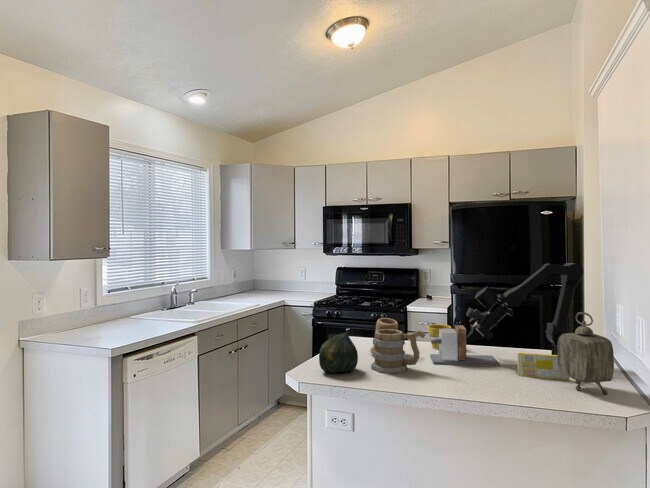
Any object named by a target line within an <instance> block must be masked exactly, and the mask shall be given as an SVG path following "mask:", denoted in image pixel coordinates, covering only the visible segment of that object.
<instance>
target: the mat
mask: <svg viewBox="0 0 650 488" xmlns="http://www.w3.org/2000/svg"><path fill="white" fill-rule="evenodd" d="M429 355H430V356H429V357H430V360H431V361H432V364H433V365H447V366H449V365H450V366H451V365H453V366H454V365H455V366H484V367H486V366H488V367H500V365H501V364H500V362H499V361H498V360H497V359H496V357H495V356H493V355H491V354H490V355H482V354H466V360H458V361H442V360H441V358H440V356H439V353H430V354H429Z"/></svg>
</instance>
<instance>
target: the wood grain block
mask: <svg viewBox="0 0 650 488" xmlns="http://www.w3.org/2000/svg"><path fill="white" fill-rule="evenodd" d="M454 330H455V331H456V332H457V343H458V360H466V355H467V344H466V338H467V328H466V327H465V326H464V325H461V324H459V325H458V324H455V325H454ZM430 344H431V345H432V344H441V338H433V337H431V339H430Z"/></svg>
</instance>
